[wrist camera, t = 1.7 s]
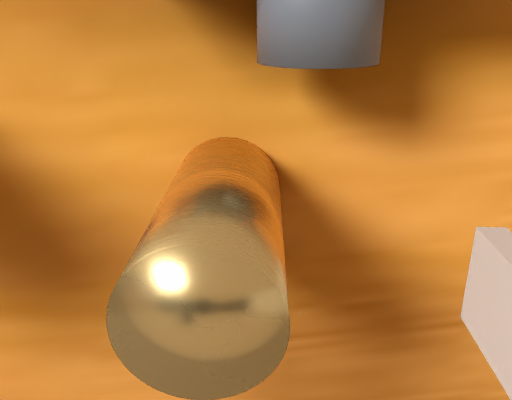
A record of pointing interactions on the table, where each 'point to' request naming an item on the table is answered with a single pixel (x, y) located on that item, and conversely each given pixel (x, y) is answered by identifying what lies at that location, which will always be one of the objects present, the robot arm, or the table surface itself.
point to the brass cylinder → (207, 279)
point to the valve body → (319, 33)
